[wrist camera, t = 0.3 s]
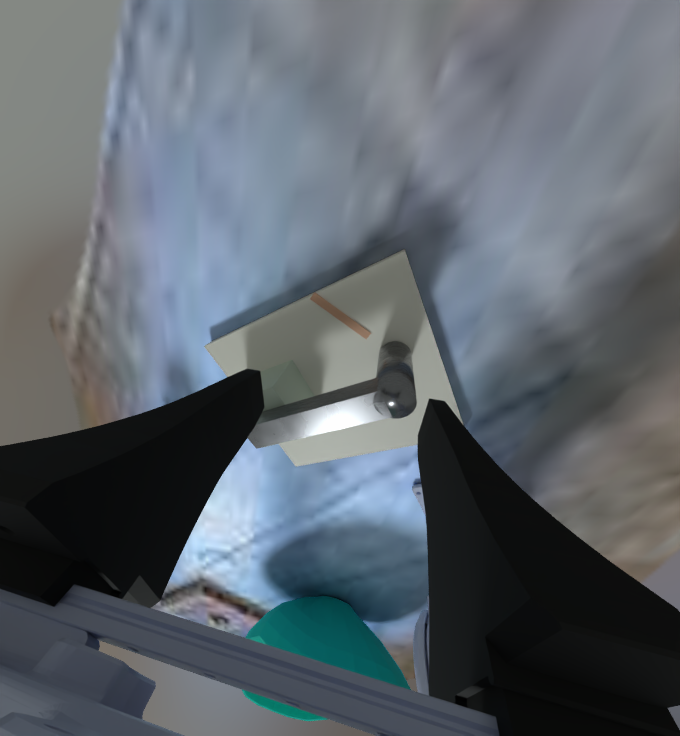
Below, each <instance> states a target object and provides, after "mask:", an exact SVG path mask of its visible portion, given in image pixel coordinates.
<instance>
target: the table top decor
mask: <svg viewBox="0 0 680 736" xmlns="http://www.w3.org/2000/svg"><path fill="white" fill-rule="evenodd" d="M246 638H247V639H250V640H253V641H256V642H260V643H263V644H266V645H269V646H272V647H275V648H279V649H282V650H285V651H288V652H291V653H295V654H298V655H301V656H304V657H307V658H310V659H314V660H317V661H320V662H323V663H326V664H330V665H333V666H336V667H339V668H342V669H345V670H349V671H352V672H355V673H358V674H361V675H365V676H368V677H371V678H374V679H377V680H380V681H384V682H387V683H390V684H393V685H396V686H399V687H403V688H406V689H409V690H411V689H410V687H409V686H408V683H407V681H406V679H405V677H404V675H403V673H402V671H401V670H400V668H399V667H398V665H397V664H396V662H395V661H394V660H393V658H392V657H391V655H390V654H389V652H388V651H387V650H386V648H385V647H384V645H383V644H382V642H381V641H380V640H379V639H378V638H377V636H376V635H375V634H374V633H373V632H372V631H371V630H370V629H369V627H368V626H367V625H366V624H365V623H364V622H363V621H362V620H361V619H360V618H359V617H358V615H357V614H356V613H355V611H354V610H353V609H352V607H351V606H350V605H349V604H347V603H345V602H343V601H341V600H339V599H336V598H333V597H329V596H316V597H302V598H299V599H295V600H292V601H288V602H284V603H282V604H280V605H279V606H277V607H275V608H274V609H272V610H271V611H269V612H268V613H267V614H266V615H265V616H264V617H263V618H261V619H260V620H259V621H258V622H257V623H256V624H255V625H254V626H253V628H252V629H251V630H250V631H249V632H248V634H247V636H246ZM242 691H243V693H244V695H245V696H246V697H247V698H248V699H250V700H251V701H252V702H254V703H255V704H257V705H259V706H261V707H263V708H266V709H268V710H271V711H273V712H276V713H278V714H281V715H284V716H287V717H290V718H294V719H299V720H304V721H315V720H327V718H324V717H321V716H318V715H315V714H312V713H309V712H306V711H304V710H301V709H298V708H295V707H292V706H289V705H286V704H283V703H280V702H277V701H274V700H272V699H269V698H266V697H263V696H260V695H257V694H254V693H251V692H248V691H245V690H242Z"/></svg>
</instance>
